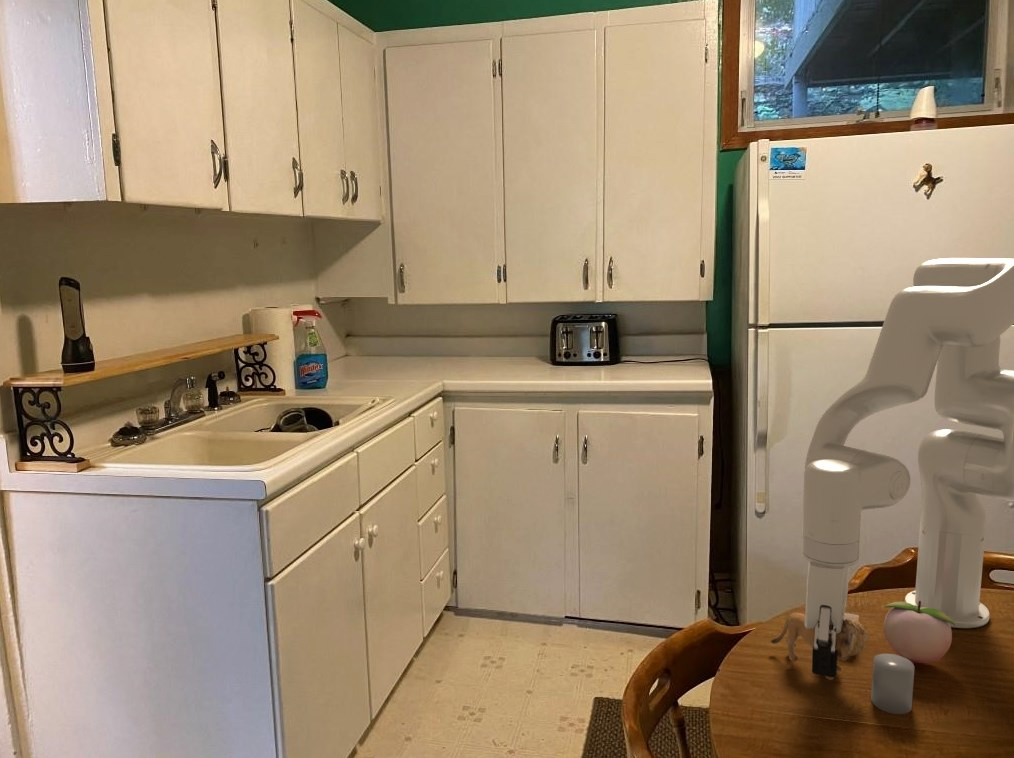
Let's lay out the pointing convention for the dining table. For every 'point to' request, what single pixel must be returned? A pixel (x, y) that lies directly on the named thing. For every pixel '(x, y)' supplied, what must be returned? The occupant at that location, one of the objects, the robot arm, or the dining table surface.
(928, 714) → the dining table surface
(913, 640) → the decorative fruit
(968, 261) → the robot arm
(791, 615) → the lion figurine
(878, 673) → the light grey cylinder
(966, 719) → the dining table surface
